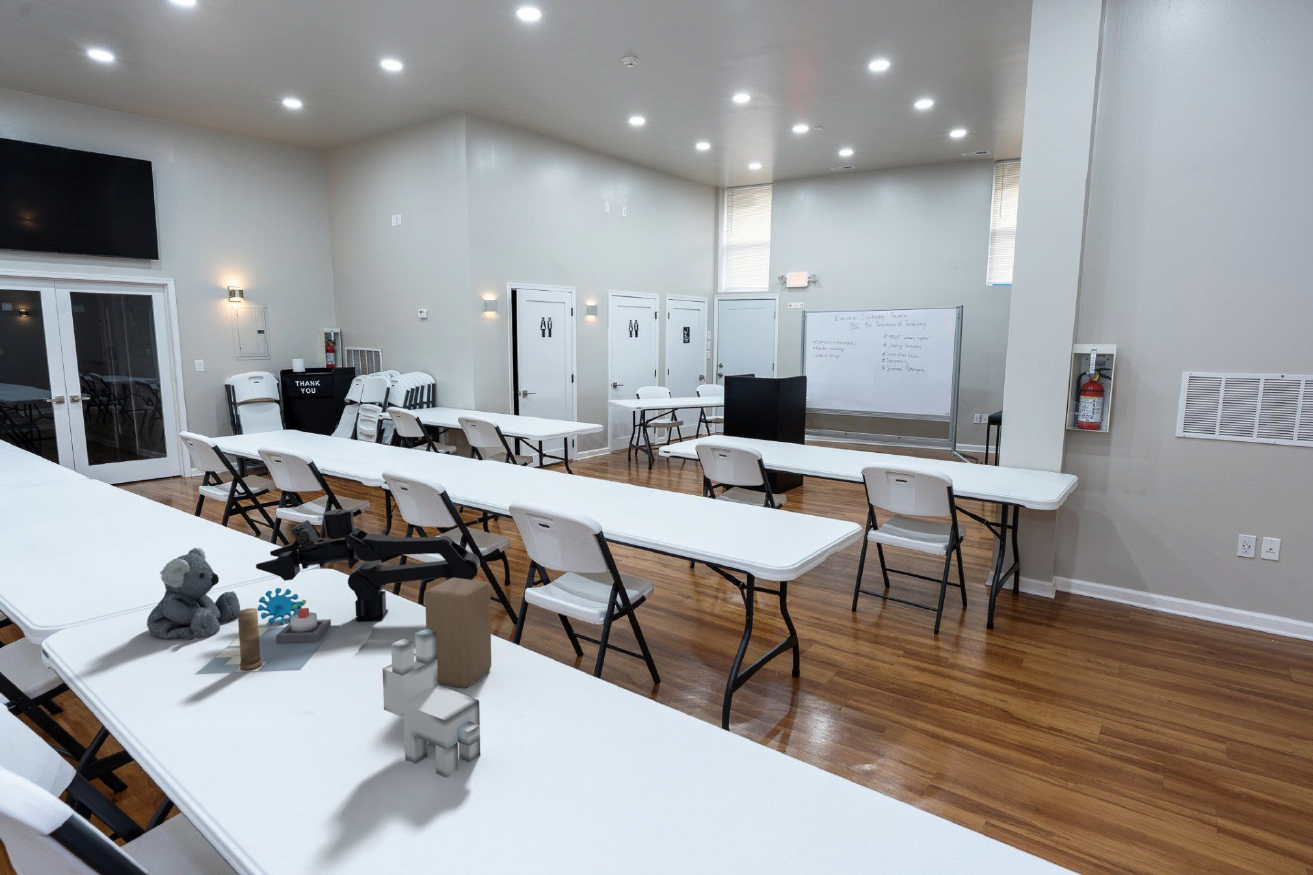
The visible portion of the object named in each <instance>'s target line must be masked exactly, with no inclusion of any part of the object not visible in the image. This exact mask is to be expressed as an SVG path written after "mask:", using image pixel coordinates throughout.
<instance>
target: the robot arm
mask: <svg viewBox="0 0 1313 875" xmlns="http://www.w3.org/2000/svg"><path fill="white" fill-rule="evenodd" d="M322 516H323V523H324V530H325V536H327V537H328V539H331V540H327V538H325V537H319V536H318V534H317V532H316V530H315V528H314V526H313V525H312V522H311V521H309V520H307V519H306V520H304V521H303V522H300V523H299V524H295V525H294V526H293V527H292V528H291V530H290V532H291V534H292V536H294V538H295V540H294V542H293V543H290V544H287V545H284V546H281V547H279V548H276V549H273V550H270V552H269V554H270V556H272V557H277V558H274V559H271V560H265V561H263V562H259V563H256V564H255V568H256V569H257V570H260V571H264V572H267V573H269V574H272V575H274V576H278V577H280V578H281V580H283V582H284V581H293V579H295V578H296V577H297V575H298V574H299V573H300V572H301V568H302V570H305V569H308V568H309V567H310V566H318V565H319V567H320V568H322V567H325V566H326V564H333V563H341V562H347V563H348V568H349V569H350V570H352V569H353V568H354V566H355V565H356V564H358V563H359V562H360V561H363V563H361V564H359V565H358V566H357V567H356V568H355V569H354V570H353V571H352V572H351V574H350V575H349V576H348V578H347V586H348V587H349V589H350V590H352V591H353V592H354V594H355V596H356V600H355V601H354V603H355V604H354V605H355V617H356V618H355V621H356V622H370V621H371V622H373V621H383V619H384V618H385V617H386V616H387V614H388V612H389V609H387V599H386V598H387V596H386V595H387V592H386V590H384V588H386V585H388V584H396V583H397V584H398V583H405V582H406V583H407V582H408V583H409V582H414V581H415V582H416V581H426V580H433V579H447V580H449V579H451V578H461V579H468V580H474V579H475V578H476V576H477V575H478V573H479V569H480V565H481V562H480V561H481V560H480V558H479V557H478V555H477V554H475V552H469V551H468V550H467V549H466V548H465V547H464V546H461V544H458V543H457V542H455V541H454V540H453V539H452V538H451V537H450V536H448V535H441V536H424V537H423V536H417V537H414V536H413V537H393V536H389V535H386V534H380V533H373V532H370V533H369V532H367V531H365V530H363V529H361V528H359V527H358V526H357V527H355V523H354V522H355V521H354V511H353V509H350V510H349V509H341V508H337V509H331V510H327V511H324V512H323V513H322ZM431 554H433V555H435V554H438V555H440V556H441V557H442V558H443V559H444V560H437V561H428V562H418V563H408V564H399V565H390V566H389V565H388V566H387V565H384V564H382V560H381V559H383V558H387V557H390V556H396V555H397V556H399V555H401V556H403V555H431ZM300 565H301V566H300ZM300 567H301V568H300Z"/></svg>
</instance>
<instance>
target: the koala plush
mask: <svg viewBox="0 0 1313 875" xmlns="http://www.w3.org/2000/svg"><path fill="white" fill-rule="evenodd" d="M159 574H160V579H161V581H162V582H163V584H164V588H165V591H164V592H165V593H164V596H163V598H162V599H161V600H160V601H159V602H158V604H157V605H156V606H155V607H154V608H153V609H152V610H151V611H150V613H149V615H148V617H147V619H146V627H147V629H148V630H149V632H150V633H151V635H152V636H154V637H157V638H160V639H165V640H168V639H169V640H171V639H173V638H174V639H176V638H177V639H178V638H181V639H184V640H185V639H186V640H194V639H195V638H197V639H198V638H207V637H209V636H214V635H216V634H217V633H218V632H220V629H221V627H220V626H221V625H220V623H223V622H226V621H232V620H234V619H235V618H237V619H238V612H239V611H241V604H240V600H239V598H238V596H237V594H236V592H235V591H234V590H232V591H224V592H223V593H222V594H220V595H219V596H218V597H217V599H216V601H214V600H213V599H212V598H211V597H210V596H208V595H207V594H208V593H209V592H210V591H211V590H212V589H213V587H214V586H216V585H218V583H219V582H220V577H219V575H218V574H216V573H215V572H214V570H213V568H212V566H211V565H210V564H209V562H208V561H207V560H206V552H205V550H204V549H203V548H202V547H193V548H192V549H190V550H189V551H188V553H187V554H186V553H185V554H183V555H180V556H178V557H176V558H173V559H172V560H170V561H168V563H166V564H165V565H164V566H163V569H162V570H161V571H160V572H159Z"/></svg>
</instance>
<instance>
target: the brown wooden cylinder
mask: <svg viewBox="0 0 1313 875" xmlns="http://www.w3.org/2000/svg"><path fill="white" fill-rule="evenodd" d="M258 618H259V614H258V608H254V607H248V608H244V609H240V611H239V612H238V617H237V623H238V624H237V625H238V637H239V641H240V656H241V662H240V669H241V670H242V671H250V670H254V669H257V668H259V667H261V665H262V660H261V658H260V645H259V629H258V628H259V619H258Z"/></svg>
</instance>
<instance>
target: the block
mask: <svg viewBox="0 0 1313 875" xmlns="http://www.w3.org/2000/svg"><path fill="white" fill-rule="evenodd" d="M490 585H491V584H490V583H489V582H487V581H482V580H474V579H472V580H468V579H461V578H451V579H447V580H445V581H443V582H441V583H439V584H437V585H435V586H433V587H431V588H429V589H427V590H426V591H425V594H424V600H425V604H424V605H425V629H429V630H433V631H436V634H437V670H438V684H443V685H447V686H453V687H458V688H461V689H462V688H463V689H464V688H468V687H469V686H471V685H473V683H475V682H476V681H477V680H478V679H480V678H481V677H483V675H485V674H486V673H488V672H490V670H491V667H492V628H491V627H492V623H491V622H492V621H491V613H492V612H491V586H490Z"/></svg>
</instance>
